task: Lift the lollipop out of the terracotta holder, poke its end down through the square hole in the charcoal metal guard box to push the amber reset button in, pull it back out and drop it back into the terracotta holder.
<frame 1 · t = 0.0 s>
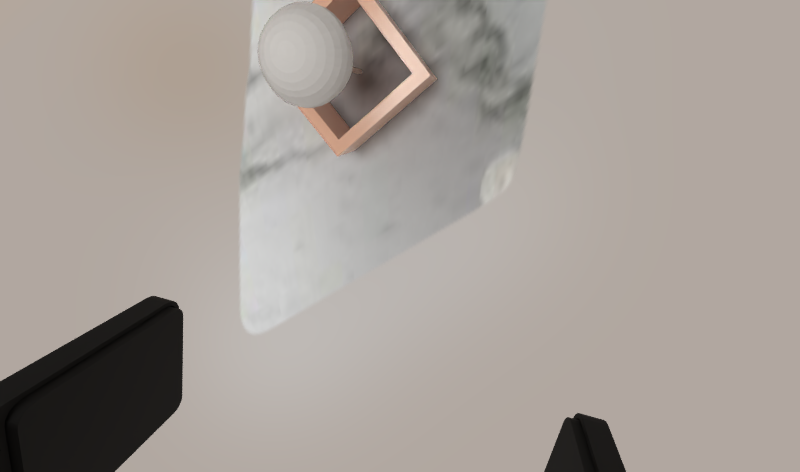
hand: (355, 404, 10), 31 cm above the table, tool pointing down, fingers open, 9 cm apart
lollipop: (360, 71, 38), resting in tool holder
tool holder: (359, 71, 38), on the table
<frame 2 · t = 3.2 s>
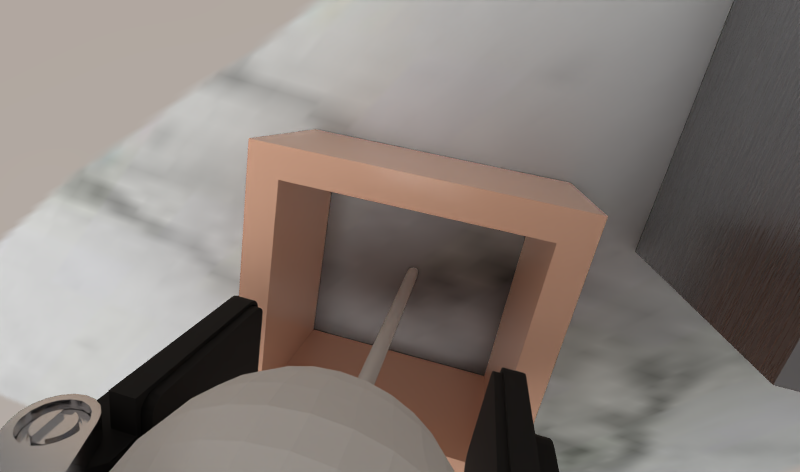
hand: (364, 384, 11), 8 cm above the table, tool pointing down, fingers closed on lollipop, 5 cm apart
lollipop: (413, 270, 18), resting in tool holder, touching gripper
tool holder: (413, 272, 18), on the table
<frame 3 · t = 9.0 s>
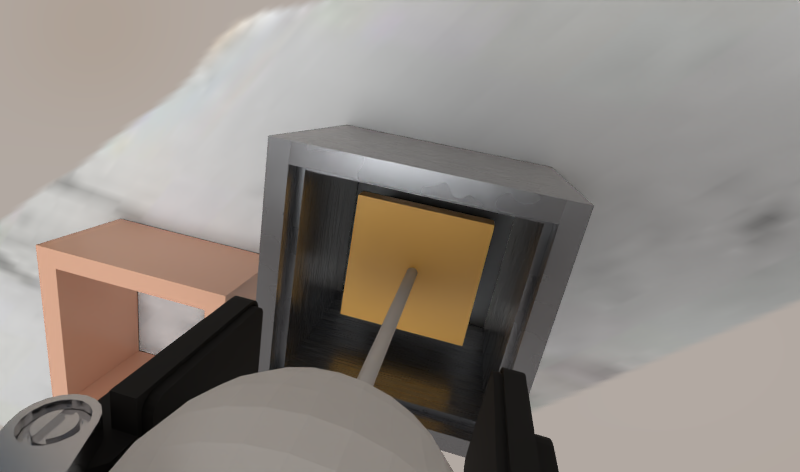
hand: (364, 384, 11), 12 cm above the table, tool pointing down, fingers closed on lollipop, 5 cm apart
lollipop: (412, 270, 18), point 4 cm above the table, touching gripper
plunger: (418, 257, 19), point 2 cm above the table, slide at 2.1 cm
tool holder: (194, 313, 26), on the table
guard box: (425, 241, 22), on the table
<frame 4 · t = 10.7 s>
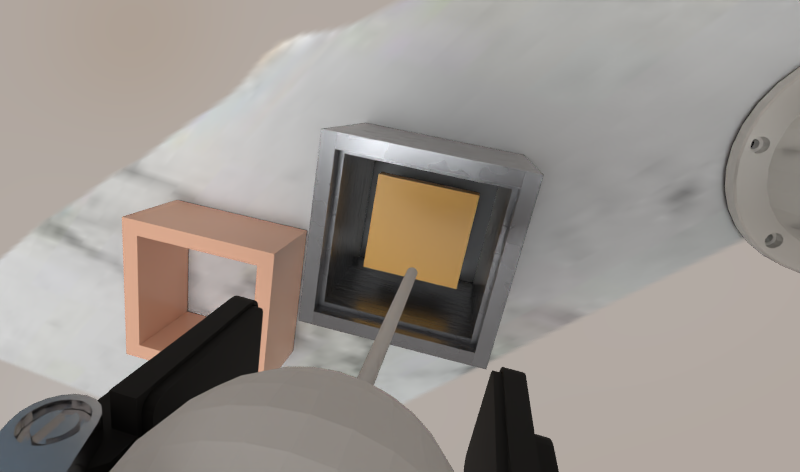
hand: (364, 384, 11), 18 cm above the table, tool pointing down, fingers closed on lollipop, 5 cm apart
lollipop: (412, 270, 18), point 10 cm above the table, touching gripper
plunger: (422, 224, 25), point 2 cm above the table, slide at 2.2 cm
tool holder: (236, 277, 31), on the table
guard box: (426, 214, 28), on the table
when the fingers open (8 cm above the table, at t = 18.3 s): lollipop stays where it is, resting in tool holder.
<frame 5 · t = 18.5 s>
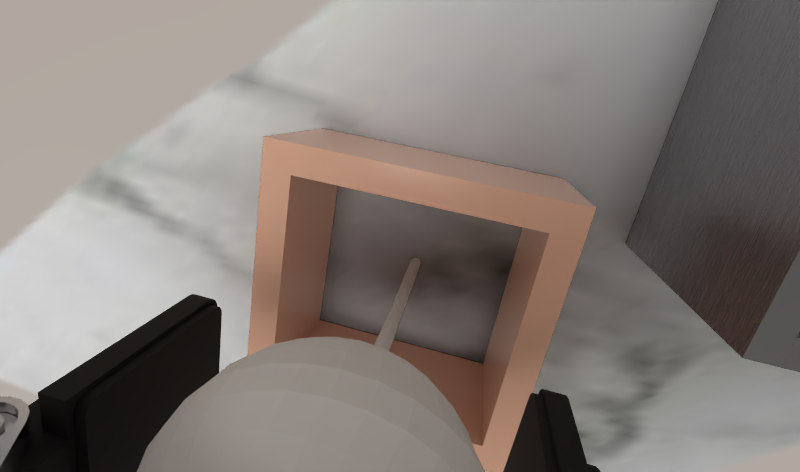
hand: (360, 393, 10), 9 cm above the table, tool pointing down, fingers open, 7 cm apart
lollipop: (416, 261, 19), resting in tool holder
tool holder: (415, 264, 19), on the table
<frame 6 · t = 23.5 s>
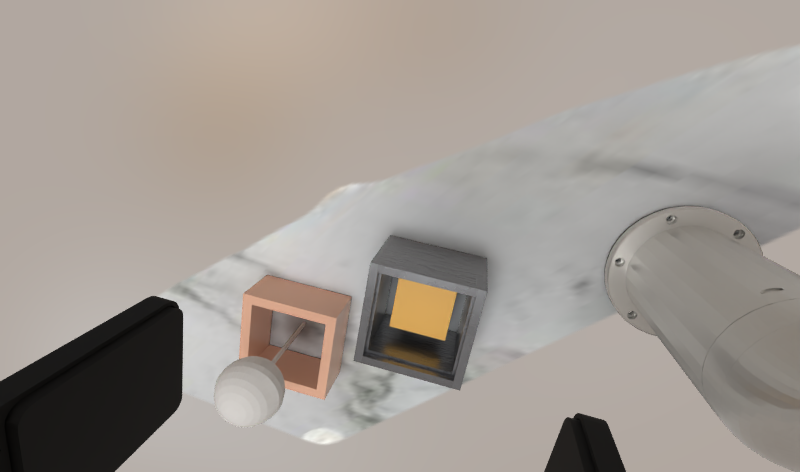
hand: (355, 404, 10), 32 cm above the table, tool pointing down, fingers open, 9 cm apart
lollipop: (304, 322, 48), resting in tool holder
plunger: (425, 299, 42), point 2 cm above the table, slide at 2.2 cm
tool holder: (304, 324, 48), on the table
guard box: (428, 290, 44), on the table
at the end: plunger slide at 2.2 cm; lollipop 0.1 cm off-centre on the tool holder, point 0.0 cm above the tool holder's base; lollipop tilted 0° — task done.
